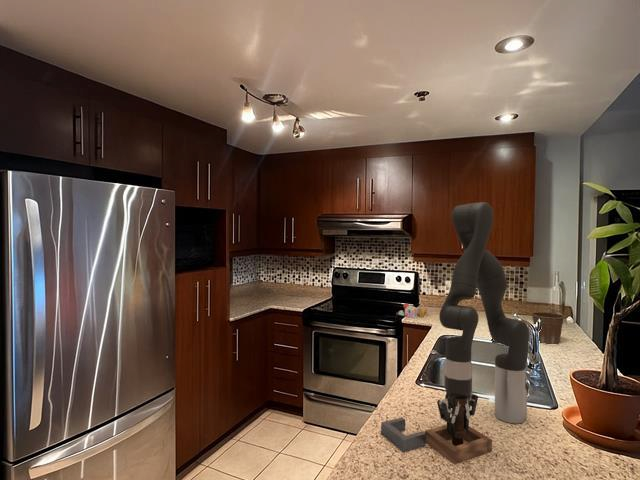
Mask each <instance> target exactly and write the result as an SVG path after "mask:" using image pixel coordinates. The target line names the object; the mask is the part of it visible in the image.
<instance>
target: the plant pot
mask: <svg viewBox="0 0 640 480" xmlns="http://www.w3.org/2000/svg"><path fill="white" fill-rule="evenodd" d="M531 317H532V321H533V325H534V324H536V322H537V319H538V317H540V318H541V320H542V329H541V331H540V332H539V341H540V343H539V344H541V343H546V344H545V345H547V344H558V345H560V344H561V338H562V337H561V335H562V331H563V330H562V328H563V324H564V320H565V318H566V316H565V315H563V314H560V313H554V312H545V311H542V312H541V311H535V312H534V311H533V312H531ZM559 343H560V344H559Z"/></svg>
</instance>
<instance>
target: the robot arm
mask: <svg viewBox="0 0 640 480" xmlns="http://www.w3.org/2000/svg"><path fill="white" fill-rule="evenodd" d="M451 213H452V214H451V218H452V219H451V220H452V224H453V227H454V230H455V233H456V234H457V237H458V239H459V241H460V244H461V246H462V248H463V250H464V252H463V253H462V255H461V256H460V257H459V259H458V260H457V261H456V263H455V266H454V269H453V271H452V276H451V281H450V282H451V283H450V289H449V291H448V293H447V296H446V298H445V301H444V303H443V304H442V306H441V309H440V311H439V315H438V316H439V323H440V324H441V326H442V327H444V328H446V329H450V330H456V331H462V334H461V336H460V335H459V336H449V337H448V338H447V339H446V341H445V362H444V390H445V391H446V394H445V396H444V399H442V400H440V399H438V400H437V401H436V403H437V407H438V408H437V409H438V412H439V416H440V419H441V420H443V421H445V422H446V425H447V432H448V433H449V434H450V435H452V436H453V435H455V423H454V422H455V417H456V416H457V415H458V411H459V407H460V405H459V401H458V403H457V405H455V404H454V399H456V398H460V397H464V396H467V397H468V399H467V404H466V405H464V428H465V429H466V430H467V431H468V428H469V426H470V424H469V423H470V419H471V416H472V417H473V416H475V413H476V409H477V406H478V399H479V396H478V395H477V394H475V393H473V392H472V391H473V365H472V347H473V341H474V337H475V333H476V330H477V328H478V325H479V324H478V323H479V314H478V311H477V310H476V309H475V308H474V307H473V306H468V305H467V306H466V305H459V303H460V302H462V301H465V300H471V299H472V300H473V299H475V296H476V292H477V290H478V293H479V295H480V298H481V303H482V306H483V308H484V309H483V310H484V314H485V319H486V322H487V328H488V332H489V334H490V336H491V338H492V340H493V342H495V343H497V344H499V345H503V346H507V347H508V350H507V353H500V354H497V355H496V356H495V358H494V416H495V418H497V419H498V420H501V421H503V422H505V423H509V424H521V423H524V422H525V420H526V419H527V418H528V389H527V388H526V367H527V366H526V365H527V362H528V356H529V344H530V343H529V342H530V330H529V326H528V325H527V323H526V322H525V321H523V320H520V319H516V318H512V317H511V318H510V317H507V316H506V314H505V313H504V310H503V307H502V306H503V305H502V302H503V299H504V296H505V294H506V291H507V288H508V281H507V277H506V274H505V271H504V270H505V269H504V267H503V265H502V263H501V262H500V261H499V260H498V258H497V257H496V256H494V254H492V253H491V251H489V250H488V249H487V246H488V245H487V244H488V242H489V238H490V236H491V232H492V228H493V225H494V220H495V219H494V211H493V208H492V206H491V205H490V204H489V203H488V202H485V201H480V202H472V203H465V204H459V205H456V206H455V207H454V208H453V210H452V212H451ZM452 409H453V410H454V411H453V410H452Z"/></svg>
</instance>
